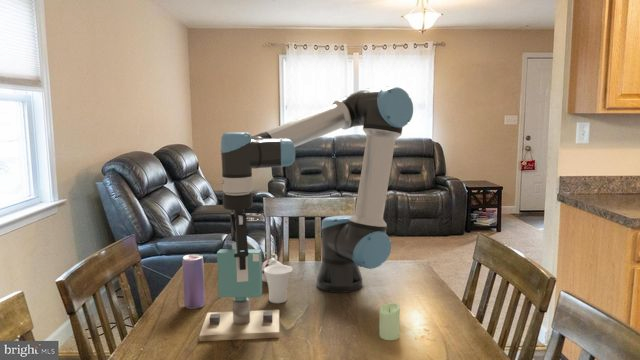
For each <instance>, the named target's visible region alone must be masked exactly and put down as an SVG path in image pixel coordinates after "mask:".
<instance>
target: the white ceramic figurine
mask: <svg viewBox="0 0 640 360" xmlns="http://www.w3.org/2000/svg"><path fill="white" fill-rule="evenodd" d="M270 256H271V258H270V259H267V260H265V261H264V262H263V263H262V283H263V282H264V283H267V278H266V275H265V273H264V268H266V267H268V266H271V265H284V264H283V263H282V262H280V261H278V254H276V253H270Z"/></svg>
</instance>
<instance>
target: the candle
mask: <svg viewBox="0 0 640 360" xmlns="http://www.w3.org/2000/svg"><path fill="white" fill-rule="evenodd" d="M400 311H401V309H400V305H399V304H398V303H396V302H389V303H386V304H383V305H382V306H381V307H380V308H379V323H378V324H379V326H378V327H379V333H378V335H379V337H380V339H383V340H385V341H396V340H398V339H399V338H400V313H401V312H400Z"/></svg>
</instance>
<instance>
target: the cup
mask: <svg viewBox="0 0 640 360" xmlns="http://www.w3.org/2000/svg"><path fill="white" fill-rule="evenodd" d="M293 271H294V269H293V267H292V266H289V265H286V264H283V265H271V266H268V267H266V268H264V273H265V275H266V278H267V282H266V284H267V288H268V301H269V302H270V303H272V304H282V303H286V301H287V299H288V295H287V294H288V285H289V283H290V279H291V276H292V273H293Z"/></svg>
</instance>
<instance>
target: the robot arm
mask: <svg viewBox="0 0 640 360" xmlns="http://www.w3.org/2000/svg"><path fill="white" fill-rule="evenodd" d="M413 115H414V105H413V101H412V98H411V97H410V95H409V93H408V92H407V91H406V90H404V89H403V88H401V87H400V86H399V87H397V86H387V85H386V86H384V87H383V86H382V87H369V88H363V89H360V90H357V91H355V92H352V93H351V94H349V95H345V96H344V97H342V98H339V99H337V100H335V101H333V103H332V104H331V106H327V107H324V108H322V109H320V110H317V111H314V112H313V113H310V114H309V113H308V114H307V115H304V116H302V117H299V118H296V119H294V120H291V121H289V122H286V123H283V124H281V125H279V126H276V127H273V128H270V129H268V130H266V131H263V132H261V133H258V134H254V135H251V133H250V132H248V131H243V132H242V131H239V132H238V131H236V132H235V131H234V132H229V131H228V132H224V133H223V134H222V135H221V136H220V137H221V138H220V155H221V157H220V158H221V175H222V176H221V177H222V180H220V181H219V184H220V185H222V192H223V193H224V194H222V207H223V209H225V210H229V211H231V212H230V215H229V219H230V227H231V229H230V230H231V233H230V237H231V249H237V254H234V257H236V264H237V282H244V281H248V254H249V252H248V248H249V247H248V234H247V233H248V232H247V229H248V227H247V225H248V224H247V221H248V219H247V218H248V216H247V215H246V213H245V212H244V210H249V209H251V208H252V207H253V205H254V203H253V201H254V200H253V192H252V191H253V169H264V168H265V169H266V168H267V169H268V168H284V167H290V166H291V165H293V164H294V163H295V160H296V147H298V146H301V145H303V144H306V143H309V142H311V141H313V140H315V139H318V138H320V137H323V136H325V135H328V134H331V133H333V132H335V131H337V130H341V129H342V130H348V129H350V128H355V127H361V126H362V131H363V132H364V133H365V134H366V139H365V141H366V142H365V147H364V153H363V160H362V165H361V173H360V178H359V179H360V180H359V183H358V184H359V186H358V189H357V198H356V203H355V210H354V214H353V215H347V214H345V215H333V216H328V217H327V216H326V217H325V218H323V219H322V221H321V228H320V231H321V262H320V263H321V264H320V267H319V269H318V272H317V276H316V286H317V288H318V289H321V290H322V291H326V292H331V293H350V292H355V291H357V290H359V289H361V288H362V287H363V276H362V274H361V270H360V267H361V268H365V269H370V270H372V269H377V268H379V267H380V266H382V264H384V263H386V261H387V260H388V258H389V256H390V254H391V252H392V242H391V241H392V240H391V239H390V237H389V235H388V234H387V227H388V226H387V225H388V224H387V223H386V221H385V220H384V214H385V208H386V207H385V206H386V203H387V194H388V188H389V181H390V175H391V171H392V170H391V169H392V162H393V158H394V157H393V156H394V151H395V143H396V141H397V140H398V139H399V138H400V137H401V136H402V133H403V128H404V127H405V126H407V125H408V124H409V122H411V120H412V118H413ZM243 250H244V251H243ZM240 251H241V252H240Z"/></svg>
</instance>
